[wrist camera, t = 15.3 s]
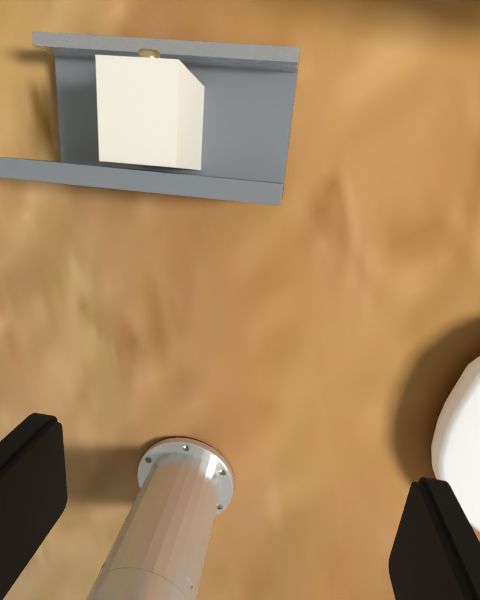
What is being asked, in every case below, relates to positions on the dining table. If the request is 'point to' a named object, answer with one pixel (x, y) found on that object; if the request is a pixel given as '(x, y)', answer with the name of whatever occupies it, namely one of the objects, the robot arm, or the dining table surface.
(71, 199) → the dining table surface
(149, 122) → the cabinet block
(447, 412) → the plate
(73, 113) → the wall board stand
